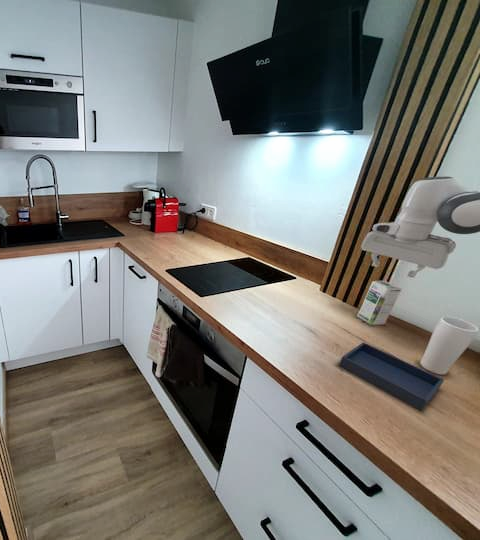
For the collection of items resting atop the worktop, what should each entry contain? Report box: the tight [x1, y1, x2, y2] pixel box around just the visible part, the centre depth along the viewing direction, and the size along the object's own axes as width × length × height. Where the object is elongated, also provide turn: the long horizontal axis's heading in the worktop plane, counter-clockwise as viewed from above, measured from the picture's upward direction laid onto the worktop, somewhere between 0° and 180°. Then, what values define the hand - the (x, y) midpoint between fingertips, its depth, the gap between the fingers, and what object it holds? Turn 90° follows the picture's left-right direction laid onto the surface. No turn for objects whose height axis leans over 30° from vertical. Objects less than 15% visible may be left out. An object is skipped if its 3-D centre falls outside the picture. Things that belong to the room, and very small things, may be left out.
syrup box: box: [356, 280, 403, 326], centre depth 99 cm, size 6×6×14 cm
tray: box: [338, 341, 445, 412], centre depth 75 cm, size 17×13×3 cm
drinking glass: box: [420, 316, 479, 375], centre depth 76 cm, size 7×7×15 cm
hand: (392, 271), depth 94 cm, fingers open, 8 cm apart
